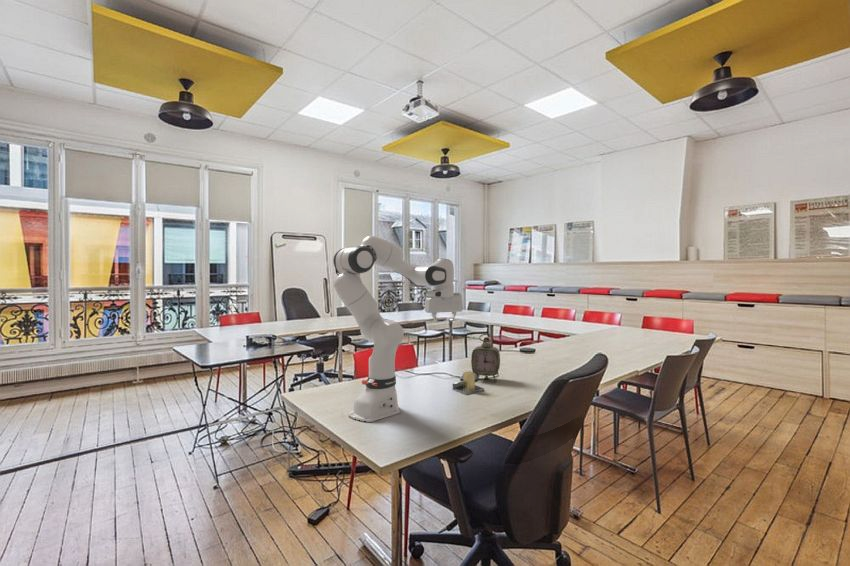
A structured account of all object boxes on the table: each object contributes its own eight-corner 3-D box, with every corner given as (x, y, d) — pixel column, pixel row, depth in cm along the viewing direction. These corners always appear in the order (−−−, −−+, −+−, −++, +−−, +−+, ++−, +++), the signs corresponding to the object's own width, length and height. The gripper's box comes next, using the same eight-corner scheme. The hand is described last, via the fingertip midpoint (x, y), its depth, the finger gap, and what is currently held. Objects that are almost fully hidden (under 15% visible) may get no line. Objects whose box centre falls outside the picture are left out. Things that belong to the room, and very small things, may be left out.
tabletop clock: (471, 381, 211) (471, 334, 211) (474, 376, 220) (473, 332, 219) (498, 383, 207) (498, 335, 206) (500, 378, 216) (500, 333, 215)
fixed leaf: (484, 390, 195) (484, 383, 194) (465, 394, 188) (465, 387, 188) (471, 385, 203) (471, 378, 203) (452, 389, 196) (452, 382, 196)
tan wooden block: (474, 388, 194) (474, 372, 194) (468, 390, 192) (468, 374, 192) (469, 386, 197) (469, 371, 197) (463, 388, 195) (463, 372, 195)
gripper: (457, 292, 197) (457, 320, 197) (423, 292, 186) (422, 322, 186) (465, 292, 192) (465, 321, 192) (430, 293, 181) (430, 323, 181)
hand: (444, 321), depth 189 cm, fingers open, 8 cm apart
